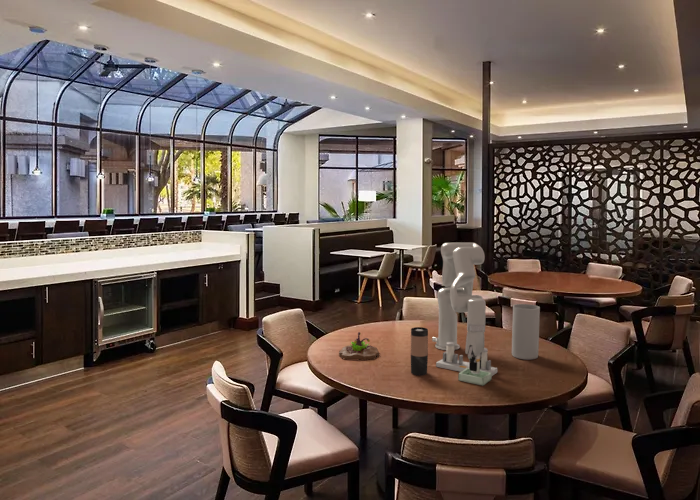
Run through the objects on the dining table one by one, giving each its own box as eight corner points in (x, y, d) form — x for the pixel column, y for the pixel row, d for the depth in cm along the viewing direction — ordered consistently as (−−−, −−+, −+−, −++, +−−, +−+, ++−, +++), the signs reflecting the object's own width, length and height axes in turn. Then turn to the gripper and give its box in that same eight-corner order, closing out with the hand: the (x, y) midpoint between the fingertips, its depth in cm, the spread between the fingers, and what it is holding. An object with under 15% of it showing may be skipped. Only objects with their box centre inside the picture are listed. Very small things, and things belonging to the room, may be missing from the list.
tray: (458, 380, 228) (458, 373, 227) (467, 374, 235) (467, 368, 235) (483, 385, 221) (483, 378, 221) (491, 379, 228) (491, 372, 228)
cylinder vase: (539, 360, 255) (541, 309, 252) (512, 359, 257) (514, 308, 255) (536, 353, 267) (537, 304, 265) (510, 352, 269) (511, 303, 267)
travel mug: (430, 371, 239) (430, 328, 237) (423, 376, 232) (424, 332, 230) (414, 369, 243) (415, 326, 241) (407, 373, 236) (408, 329, 234)
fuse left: (444, 362, 246) (445, 343, 245) (448, 360, 249) (448, 341, 248) (452, 363, 244) (452, 344, 243) (455, 361, 247) (455, 342, 246)
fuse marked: (469, 373, 227) (469, 352, 226) (473, 371, 230) (473, 350, 229) (477, 374, 225) (477, 354, 224) (481, 372, 228) (481, 352, 227)
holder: (435, 366, 246) (436, 354, 246) (444, 361, 253) (444, 349, 253) (489, 377, 231) (489, 364, 230) (497, 372, 238) (497, 359, 237)
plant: (380, 350, 275) (380, 328, 274) (377, 361, 256) (377, 338, 255) (342, 348, 277) (342, 327, 276) (336, 359, 258) (336, 337, 257)
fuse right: (477, 368, 237) (477, 349, 236) (480, 366, 240) (481, 347, 239) (485, 370, 235) (485, 350, 234) (488, 368, 238) (488, 348, 237)
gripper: (475, 322, 235) (474, 363, 236) (459, 330, 221) (458, 372, 223) (491, 325, 230) (491, 366, 232) (476, 332, 217) (475, 376, 219)
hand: (475, 369), depth 227 cm, fingers closed on fuse marked, 3 cm apart
